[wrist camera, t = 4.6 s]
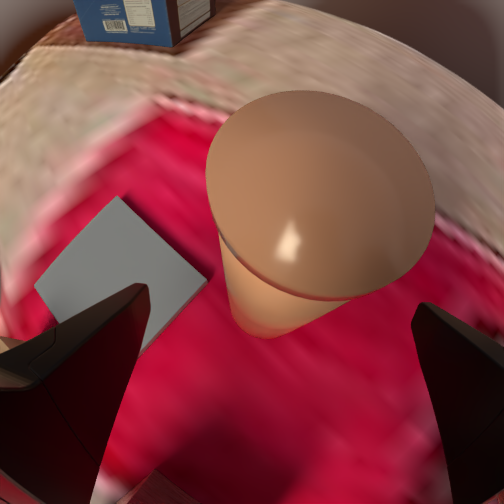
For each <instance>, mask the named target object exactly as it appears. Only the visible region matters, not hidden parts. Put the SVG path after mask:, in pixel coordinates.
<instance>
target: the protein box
mask: <svg viewBox="0 0 504 504" xmlns="http://www.w3.org/2000/svg"><path fill="white" fill-rule="evenodd" d="M73 2H74V5H75V8H76V11H77V14H78V17H79V21H80V24H81V27H82V30H83V32H84V35H85V38H86V41H100V42H122V43H136V44H147V45H156V46H164V47H173V46H174V45H176V44H177V43H178V42H179V41H180V40H182V39H183V38H184V37H185V36H187V35H188V34H189V33H190V32H192V31H193V30H194V29H196V28H197V27H198V26H200V25H201V24H202V23H204V22H205V21H207V20H208V19H209V18H211V17H212V16H213V15H215V14H216V12H215V11H216V8H215V0H73Z"/></svg>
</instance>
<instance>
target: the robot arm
mask: <svg viewBox="0 0 504 504" xmlns="http://www.w3.org/2000/svg"><path fill="white" fill-rule="evenodd" d="M150 312H151V303H150V294H149V287H148V285H147V284H144V283H133V284H132V285H130V286H128V287H126V288H124V289H122V290H120V291H118V292H117V293H115V294H113V295H111V296H109V297H107V298H105V299H104V300H102V301H100V302H98V303H96V304H94V305H92V306H91V307H89V308H87V309H85V310H83V311H81V312H80V313H78V314H76V315H74V316H72V317H70V318H69V319H67V320H65V321H63V322H61V323H60V324H58V325H56V328H55V327H52V328H51V329H49V330H47V331H45V332H43V333H42V334H40V335H38V336H36V337H34V338H32V339H30V340H28V341H26V342H24V343H22V344H20V345H18V346H15V347H13V348H11V349H9V350H7V351H5V352H3V353H0V504H90V500H91V496H92V493H93V489H94V486H95V482H96V479H97V475H98V472H99V469H100V467H99V466H100V465H101V461H102V458H103V455H104V452H105V449H106V446H107V442H108V439H109V436H110V433H111V430H112V427H113V424H114V421H115V418H116V416H117V413H118V410H119V407H120V404H121V401H122V399H123V396H124V393H125V390H126V387H127V385H128V382H129V379H130V377H131V374H132V371H133V369H134V366H135V364H136V361H137V358H138V356H139V353H140V350H141V346H142V342H143V338H144V334H145V331H146V327H147V323H148V319H149V316H150ZM411 329H412V333H413V337H414V341H415V346H416V350H417V354H418V359H419V363H420V366H421V369H422V372H423V375H424V379H425V382H426V385H427V388H428V392H429V395H430V398H431V402H432V405H433V409H434V413H435V416H436V420H437V424H438V428H439V432H440V436H441V440H442V445H443V449H444V454H445V459H446V463H447V469H448V475H449V480H450V486H451V492H452V499H453V504H487V503H489V502H490V501H492V500H494V499H496V498H497V500H498V503H499V504H504V347H502V346H501V345H500V344H498V343H497V342H495V341H494V340H492V339H490V338H489V337H487V336H486V335H484V334H482V333H481V332H479V331H478V330H476V329H474V328H473V327H471V326H469V325H468V324H466V323H464V322H463V321H461V320H459V319H458V318H456V317H454V316H453V315H451V314H449V313H448V312H446V311H444V310H443V309H441V308H439V307H438V306H436V305H434V304H432V303H430V302H421V303H420V304H419V305H418V307H417V310H416V312H415V314H414V317H413V319H412V322H411Z"/></svg>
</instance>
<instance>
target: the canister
mask: <svg viewBox="0 0 504 504" xmlns="http://www.w3.org/2000/svg"><path fill="white" fill-rule="evenodd" d="M206 185H207V192H208V198H209V204H210V209H211V213H212V217H213V221H214V223H215V225H216V228H217V230H218V233H219V240H220V246H221V253H222V260H223V267H224V273H225V280H226V286H227V293H228V299H229V305H230V311H231V314H232V316H233V319H234V320H235V322H236V324H237V325H238V326H239V327H240V328H241V329H242V330H243V331H244V332H246V333H247V334H249V335H251V336H253V337H256V338H260V339H274V338H278V337H281V336H283V335H285V334H287V333H289V332H291V331H293V330H295V329H297V328H299V327H301V326H303V325H305V324H307V323H309V322H311V321H313V320H315V319H317V318H319V317H321V316H322V315H324V314H326V313H328V312H330V311H332V310H334V309H336V308H337V307H339V306H341V305H343V304H345V303H346V302H348V301H350V300H352V299H356V298H360V297H363V296H366V295H369V294H371V293H373V292H375V291H377V290H379V289H381V288H382V287H384V286H386V285H388V284H390V283H391V282H393V281H395V280H397V279H399V278H400V277H401V276H403V275H404V274H405V273H406V272H408V271H409V270H410V269H411V268H412V267H413V266H414V265H415V264H416V263H417V261H418V260H419V259H420V258H421V256H422V255H423V253H424V251H425V250H426V248H427V246H428V243H429V241H430V238H431V236H432V231H433V227H434V221H435V199H434V193H433V188H432V184H431V181H430V178H429V175H428V173H427V170H426V168H425V166H424V164H423V162H422V160H421V158H420V157H419V155H418V153H417V152H416V150H415V149H414V148H413V146H412V145H411V144H410V142H409V141H408V140H407V139H406V138H405V137H404V136H403V134H402V133H401V132H400V131H399V130H398V129H396V128H395V127H394V126H393V125H392V124H391V123H390V122H388V121H387V120H386V119H384V118H383V117H382V116H380V115H379V114H377V113H376V112H374V111H372V110H371V109H369V108H367V107H365V106H363V105H361V104H359V103H357V102H355V101H352V100H350V99H347V98H344V97H341V96H337V95H334V94H329V93H324V92H317V91H286V92H280V93H275V94H271V95H268V96H264V97H261V98H259V99H257V100H254V101H252V102H250V103H248V104H247V105H245V106H243V107H242V108H240V109H239V110H237V111H236V112H235V113H234V114H233V115H231V116H230V117H229V118H228V119H227V120H226V122H225V123H224V124H223V125H222V126H221V128H220V129H219V131H218V132H217V134H216V135H215V137H214V139H213V142H212V144H211V146H210V149H209V153H208V157H207V162H206Z"/></svg>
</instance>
